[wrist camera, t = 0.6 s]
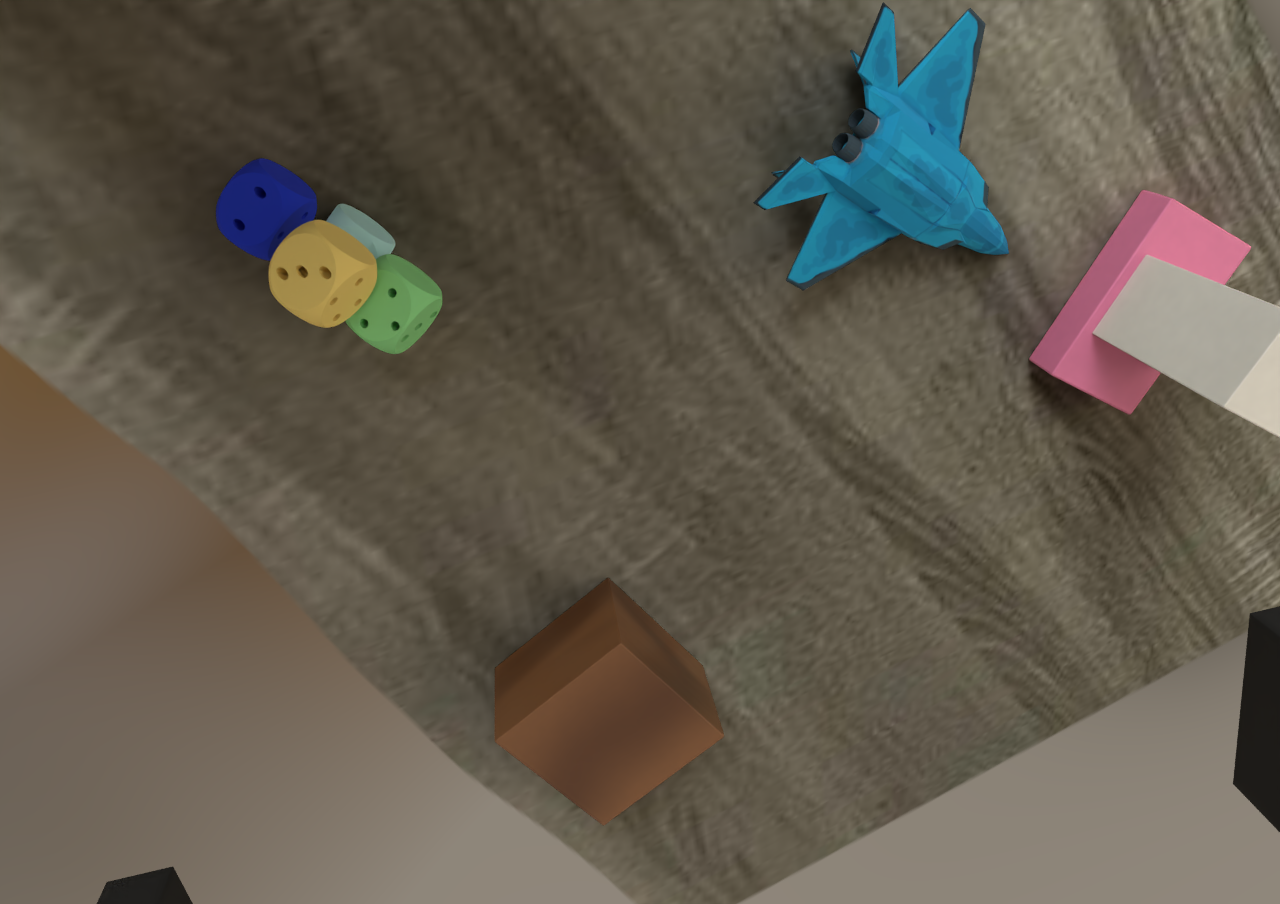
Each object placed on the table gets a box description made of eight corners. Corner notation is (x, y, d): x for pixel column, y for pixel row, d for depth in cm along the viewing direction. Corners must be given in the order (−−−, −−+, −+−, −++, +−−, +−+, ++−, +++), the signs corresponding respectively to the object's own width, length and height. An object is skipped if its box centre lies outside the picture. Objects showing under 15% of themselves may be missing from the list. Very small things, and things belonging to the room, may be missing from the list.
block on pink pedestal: (1141, 188, 39) (1331, 245, 30) (1220, 236, 41) (1424, 303, 32) (1027, 359, 42) (1171, 457, 33) (1104, 398, 43) (1263, 503, 34)
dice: (226, 202, 35) (173, 242, 29) (264, 142, 34) (218, 172, 29) (415, 329, 38) (401, 389, 32) (454, 277, 37) (447, 328, 31)
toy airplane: (729, 273, 39) (755, 305, 35) (730, 4, 34) (760, 7, 31) (1006, 253, 40) (1060, 281, 36) (1041, -9, 36) (1106, -8, 32)
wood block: (494, 667, 45) (493, 741, 41) (608, 576, 44) (620, 643, 39) (593, 748, 48) (603, 826, 43) (703, 665, 47) (725, 736, 42)
